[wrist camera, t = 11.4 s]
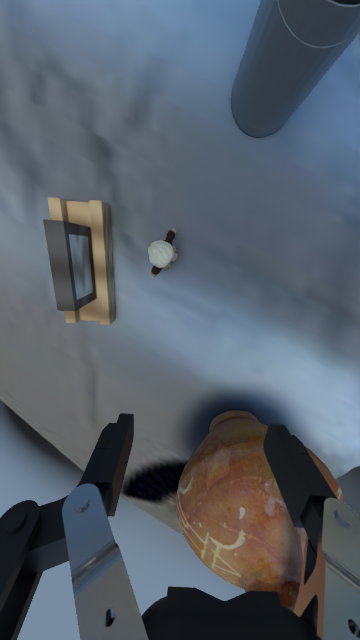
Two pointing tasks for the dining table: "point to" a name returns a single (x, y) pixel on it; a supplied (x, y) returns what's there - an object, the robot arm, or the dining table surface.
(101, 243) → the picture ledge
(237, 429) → the jug
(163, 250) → the grandmother figurine
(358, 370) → the dining table surface
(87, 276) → the dark grey block
